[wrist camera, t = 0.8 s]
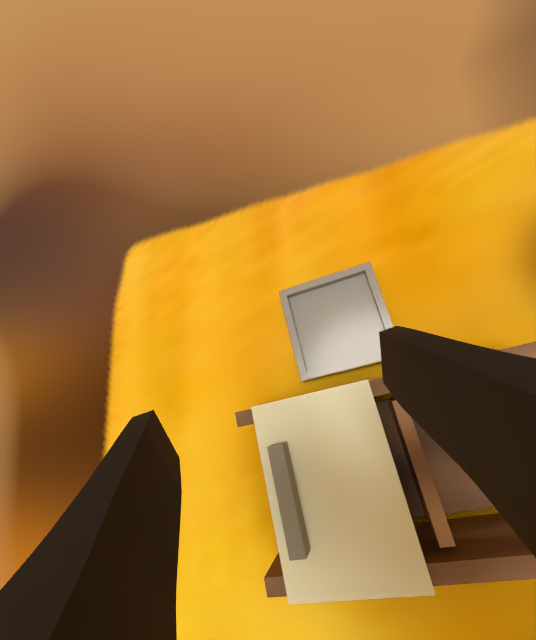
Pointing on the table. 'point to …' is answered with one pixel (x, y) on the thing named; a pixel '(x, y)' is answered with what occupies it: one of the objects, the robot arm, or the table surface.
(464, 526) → the brown cabinet
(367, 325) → the slate tray
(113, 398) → the table surface
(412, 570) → the cream cabinet door
